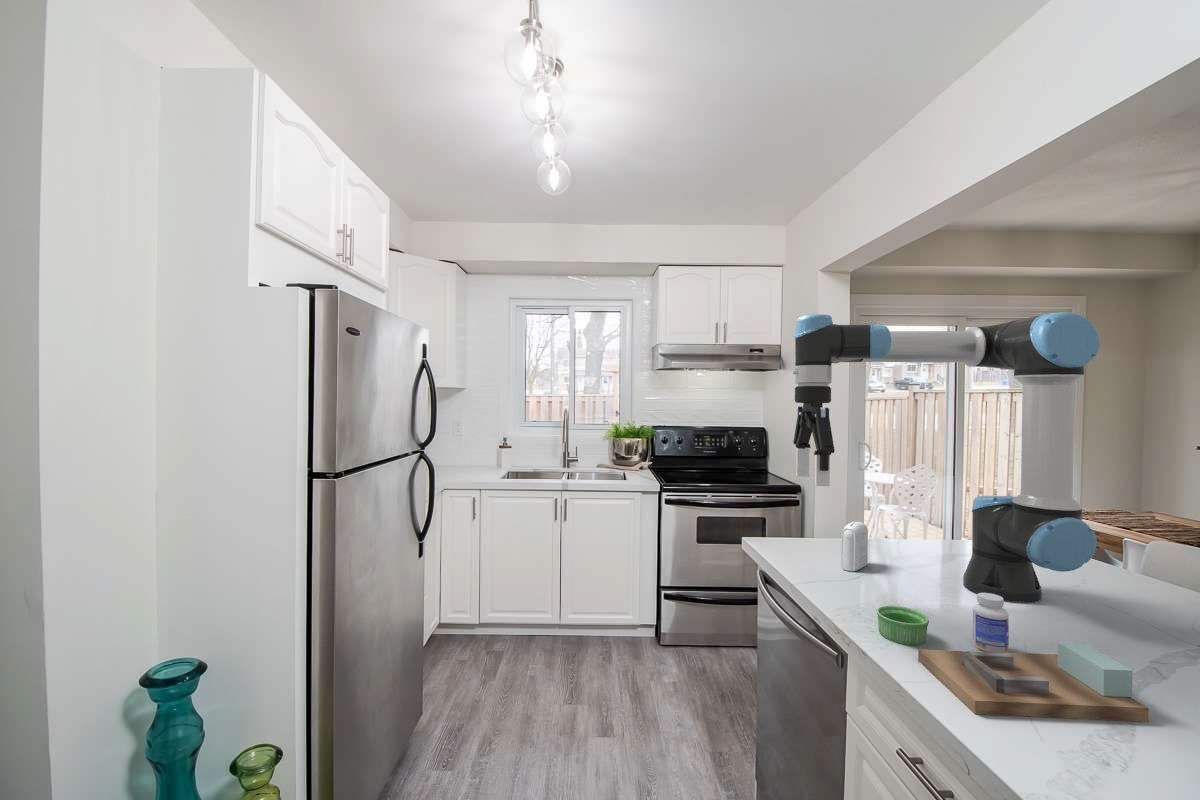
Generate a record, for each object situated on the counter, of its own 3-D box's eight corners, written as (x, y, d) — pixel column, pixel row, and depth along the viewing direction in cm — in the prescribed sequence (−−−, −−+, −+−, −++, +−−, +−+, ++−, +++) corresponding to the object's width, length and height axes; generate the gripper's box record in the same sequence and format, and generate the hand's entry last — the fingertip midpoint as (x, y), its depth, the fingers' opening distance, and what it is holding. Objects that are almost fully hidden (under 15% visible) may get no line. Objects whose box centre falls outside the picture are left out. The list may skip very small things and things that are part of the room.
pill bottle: (1014, 656, 97) (1015, 603, 97) (981, 653, 98) (981, 600, 98) (998, 643, 102) (999, 592, 102) (967, 640, 103) (967, 590, 103)
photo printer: (853, 561, 152) (854, 518, 152) (869, 564, 149) (870, 520, 149) (839, 569, 145) (839, 523, 145) (855, 573, 142) (856, 526, 142)
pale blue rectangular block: (1083, 667, 89) (1083, 643, 89) (1132, 697, 80) (1132, 670, 80) (1057, 666, 89) (1057, 642, 89) (1103, 695, 80) (1104, 669, 80)
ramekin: (907, 650, 99) (907, 627, 99) (865, 631, 107) (866, 609, 107) (939, 642, 103) (939, 619, 103) (897, 623, 111) (897, 602, 111)
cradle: (1060, 666, 94) (1061, 643, 94) (1148, 721, 78) (1148, 694, 78) (918, 660, 95) (918, 638, 95) (975, 714, 79) (975, 687, 79)
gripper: (780, 386, 132) (779, 472, 132) (813, 384, 107) (812, 490, 107) (812, 386, 131) (811, 473, 131) (852, 384, 106) (851, 491, 107)
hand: (811, 481), depth 119 cm, fingers open, 13 cm apart
